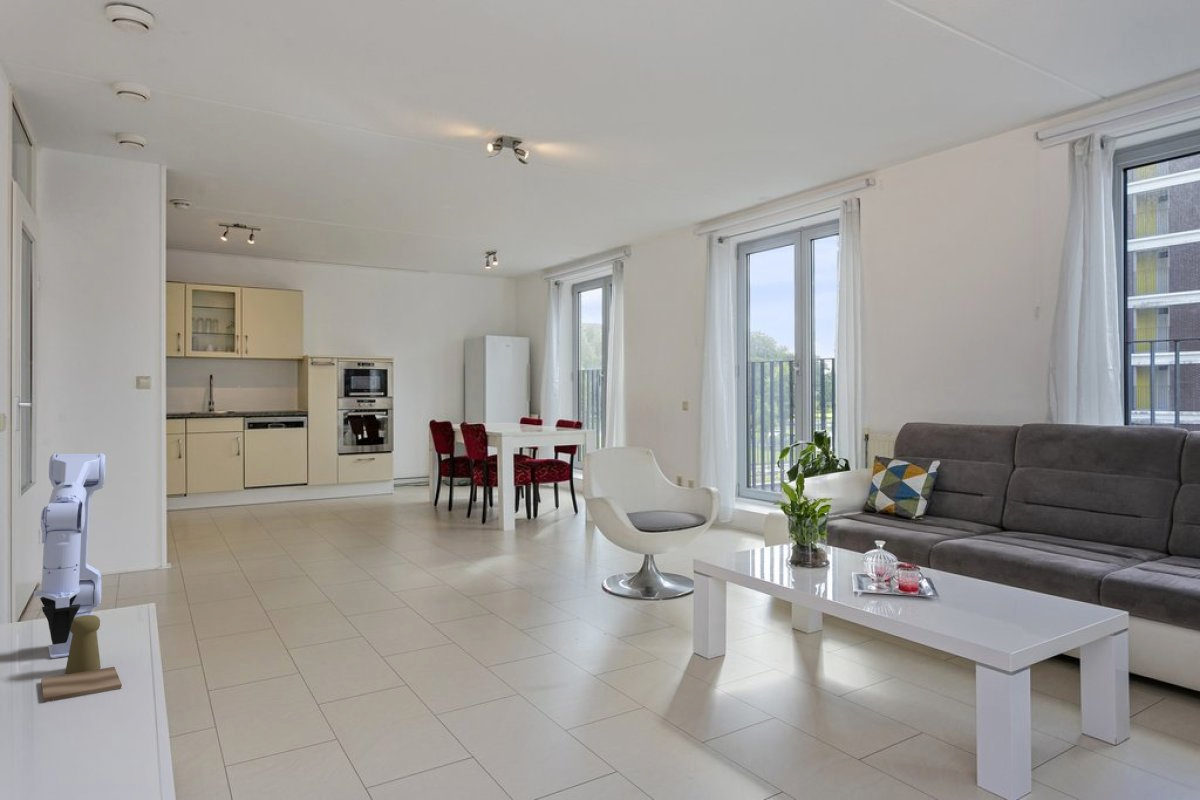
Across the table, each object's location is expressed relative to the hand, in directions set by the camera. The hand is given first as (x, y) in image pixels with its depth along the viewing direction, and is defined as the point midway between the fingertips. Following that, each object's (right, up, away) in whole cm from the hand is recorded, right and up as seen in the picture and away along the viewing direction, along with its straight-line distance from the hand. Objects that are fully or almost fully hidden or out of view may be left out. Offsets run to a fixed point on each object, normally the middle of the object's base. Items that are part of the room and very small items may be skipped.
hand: (58, 638), depth 139 cm
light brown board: (+2, -11, +4) cm, 11 cm away
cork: (-4, -11, +12) cm, 17 cm away
